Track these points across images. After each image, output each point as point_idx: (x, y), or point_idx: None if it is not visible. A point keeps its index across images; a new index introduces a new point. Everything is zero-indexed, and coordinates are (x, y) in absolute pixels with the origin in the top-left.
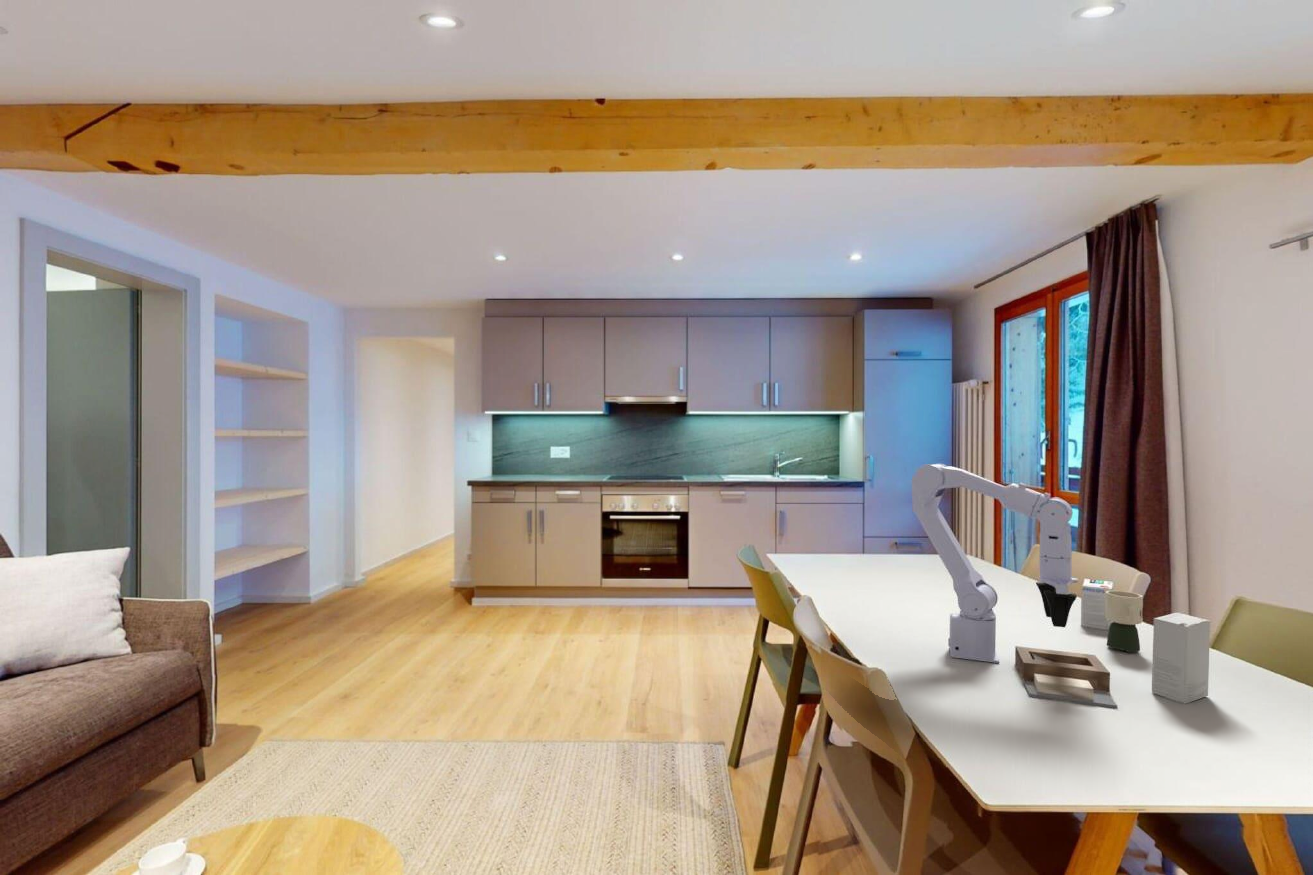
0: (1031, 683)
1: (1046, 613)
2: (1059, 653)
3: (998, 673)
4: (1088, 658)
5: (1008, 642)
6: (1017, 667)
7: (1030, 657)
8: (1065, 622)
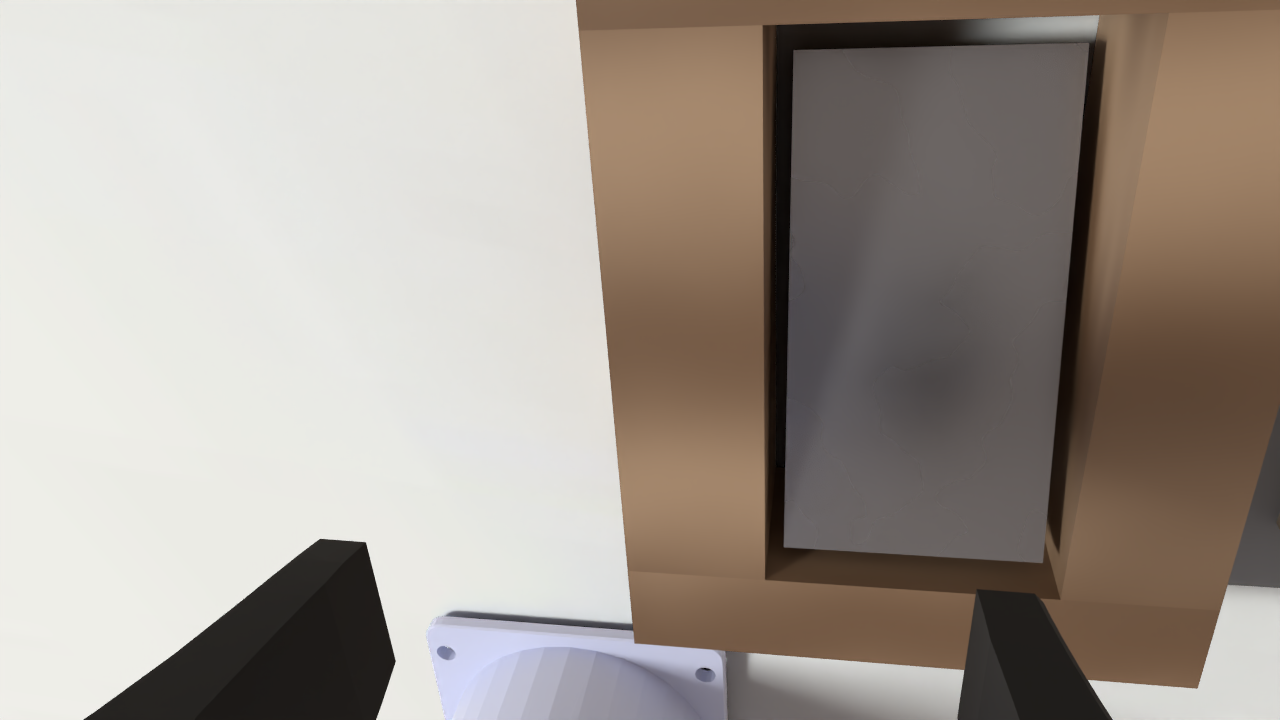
0: (1269, 539)
1: (374, 710)
2: (707, 311)
3: None
4: (780, 9)
5: (62, 471)
6: None
7: None
8: (1068, 663)
